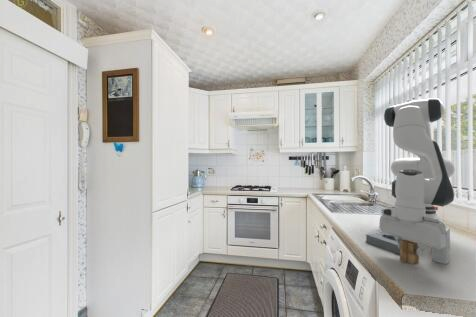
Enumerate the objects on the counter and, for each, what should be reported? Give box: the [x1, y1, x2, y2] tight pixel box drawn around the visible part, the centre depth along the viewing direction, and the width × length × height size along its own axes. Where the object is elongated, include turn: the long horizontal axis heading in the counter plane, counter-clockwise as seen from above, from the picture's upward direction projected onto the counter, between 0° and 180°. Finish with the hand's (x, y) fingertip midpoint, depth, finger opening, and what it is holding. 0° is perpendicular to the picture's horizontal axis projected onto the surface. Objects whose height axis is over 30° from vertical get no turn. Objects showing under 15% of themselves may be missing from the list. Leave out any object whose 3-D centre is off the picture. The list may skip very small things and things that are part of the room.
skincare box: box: [431, 226, 451, 265], centre depth 81 cm, size 6×4×12 cm
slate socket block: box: [365, 231, 404, 255], centre depth 95 cm, size 14×14×3 cm
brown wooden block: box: [399, 239, 420, 265], centre depth 80 cm, size 6×4×7 cm, turn 113°
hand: (409, 251), depth 80 cm, fingers closed on brown wooden block, 4 cm apart
